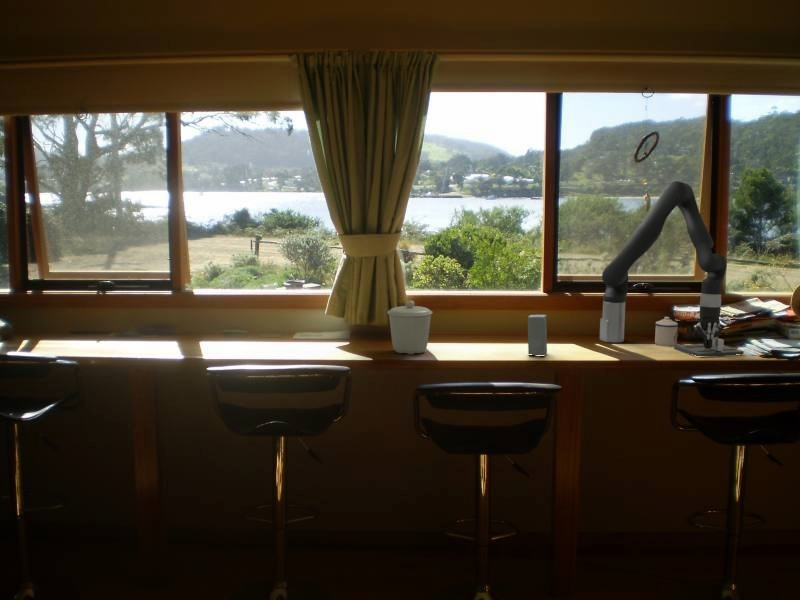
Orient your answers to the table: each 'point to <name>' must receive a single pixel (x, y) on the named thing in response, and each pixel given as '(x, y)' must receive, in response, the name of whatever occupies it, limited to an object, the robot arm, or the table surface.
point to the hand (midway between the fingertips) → (707, 348)
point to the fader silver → (717, 344)
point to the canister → (409, 328)
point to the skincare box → (537, 334)
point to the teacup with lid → (666, 332)
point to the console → (707, 350)
